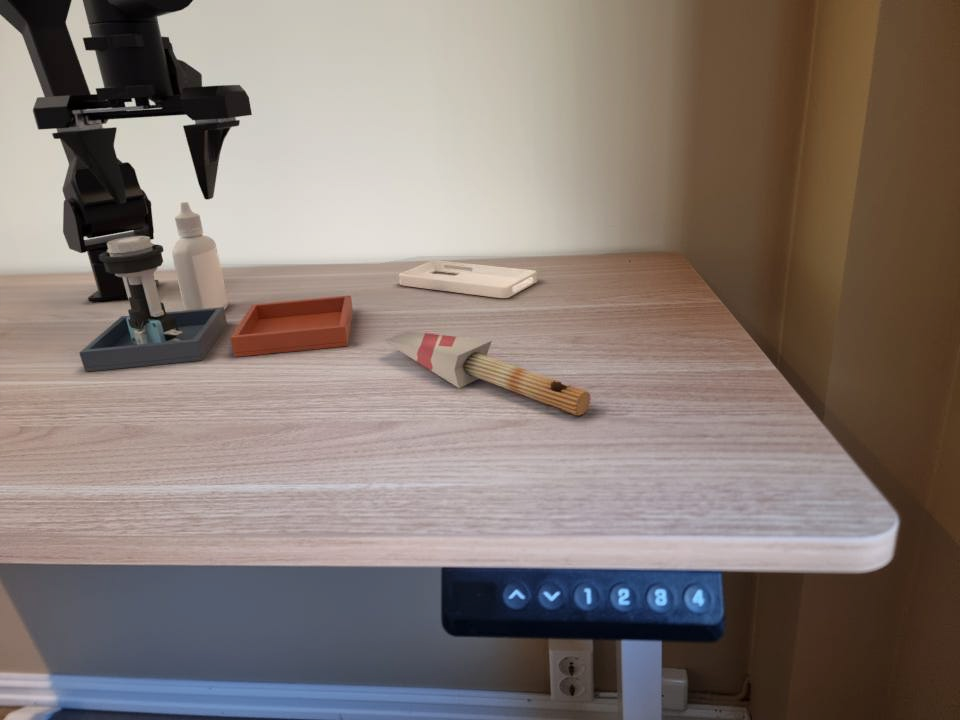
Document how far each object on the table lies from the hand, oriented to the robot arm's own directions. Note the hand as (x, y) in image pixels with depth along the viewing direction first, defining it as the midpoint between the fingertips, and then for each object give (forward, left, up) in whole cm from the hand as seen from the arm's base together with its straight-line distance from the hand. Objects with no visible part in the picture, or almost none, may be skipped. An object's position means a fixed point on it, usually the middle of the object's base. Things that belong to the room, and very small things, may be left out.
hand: (165, 200), depth 67 cm
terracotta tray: (+7, +12, -13) cm, 19 cm away
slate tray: (+7, -1, -13) cm, 14 cm away
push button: (+7, -1, -13) cm, 15 cm away
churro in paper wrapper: (+23, +28, -13) cm, 38 cm away
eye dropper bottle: (-3, +1, -13) cm, 13 cm away
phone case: (-5, +30, -13) cm, 33 cm away
